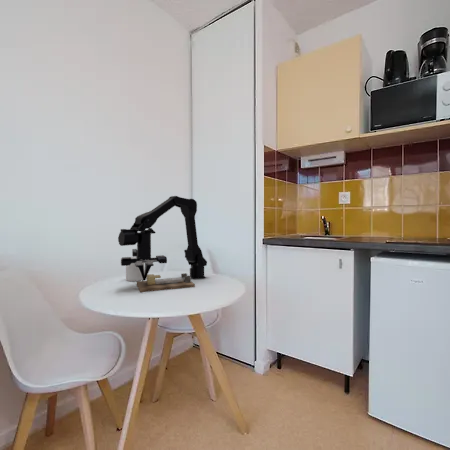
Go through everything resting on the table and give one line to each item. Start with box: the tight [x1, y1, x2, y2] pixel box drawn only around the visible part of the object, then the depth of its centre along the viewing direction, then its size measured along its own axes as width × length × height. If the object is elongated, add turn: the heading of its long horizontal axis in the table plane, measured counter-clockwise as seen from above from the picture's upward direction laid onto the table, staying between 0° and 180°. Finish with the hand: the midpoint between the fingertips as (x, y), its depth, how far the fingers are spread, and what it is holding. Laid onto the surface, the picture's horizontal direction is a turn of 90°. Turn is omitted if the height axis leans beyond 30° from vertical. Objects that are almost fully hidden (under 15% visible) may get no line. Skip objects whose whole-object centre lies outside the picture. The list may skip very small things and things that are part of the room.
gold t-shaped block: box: [146, 273, 162, 285], centre depth 122 cm, size 6×5×3 cm
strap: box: [155, 276, 185, 284], centre depth 125 cm, size 14×4×1 cm, turn 113°
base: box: [136, 272, 196, 293], centre depth 124 cm, size 23×15×4 cm, turn 113°
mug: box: [125, 256, 151, 282], centre depth 137 cm, size 9×12×11 cm
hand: (144, 280), depth 121 cm, fingers closed
